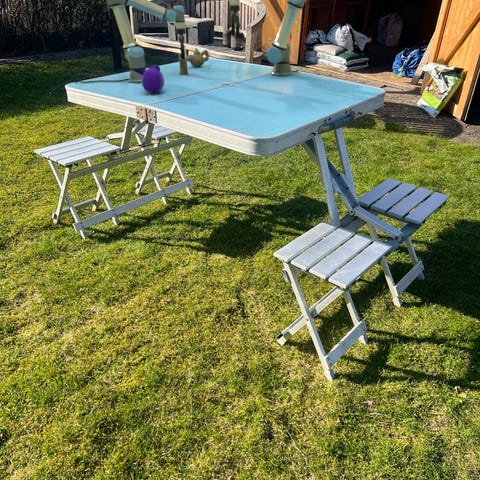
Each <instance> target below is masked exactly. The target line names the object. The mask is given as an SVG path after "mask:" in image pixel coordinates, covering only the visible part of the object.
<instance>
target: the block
mask: <svg viewBox="0 0 480 480" xmlns="http://www.w3.org/2000/svg"><path fill="white" fill-rule="evenodd" d="M178 60H179V72H180V75H181V76H183V75H189V73H188V71H189V70H188V61H187V58H186V57H185V59H182V58H181V57H179V59H178Z"/></svg>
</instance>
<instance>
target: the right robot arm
mask: <svg viewBox="0 0 480 480" xmlns="http://www.w3.org/2000/svg"><path fill="white" fill-rule="evenodd" d="M308 1H309V0H287V1H286V5H287V7H286V11H285V13H284V15H283V18H282V21H281V24H280V26H279V29H278V32H277V34H276V38H275V40H273V41H272V42H271V45H270V47H269V48H268V49H267V51H266V59H267V61H268V62H269V63H270V64H273V68H272V71H271V75H272V76H276V77H288V76H291V75H292V72H293V73H297V72H300V70H299V69H297V70H293V69H292V68H291V65H290V64H291V63H290V62H291V61H290V59H291V43H289V42H288V41H289V38H290V36H291V34H292V31H293V28H294V25H295V23H296V20H297V17H298V16H299V13H300V11H301V10H303V8H304V5H305V4H306V2H308ZM228 2H229V12H230V22H229V23H230V33H231V37H235V38H236V39H237V38H239V39H240V36H241V35H240V28H241V21H240V13H239V12H240V11H241V5H240V4H241V0H228Z"/></svg>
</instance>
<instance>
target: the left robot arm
mask: <svg viewBox="0 0 480 480" xmlns="http://www.w3.org/2000/svg"><path fill="white" fill-rule="evenodd" d="M107 2H108V6H109V8H110V9H112V11H113V14H114V17H115V20H116V24H117V27H118V29H119V30H118V31H119V33H120V35H121V40H122V42H123V46H122V49H123V52H124V57H125V59H126V61H127V62H128V66H129V76H128V78H124V79H118V80H117V79H116V80H115V79H114V80H107V79H105V80H104V79H99V80H97V79H96V80H88V81H86V80H85V81H82V80H76V81H75V82H74V84H77V83H82V84H88V83H99V82H100V83H101V82H103V83H105V82H106V83H115V82H116V83H118V82H119V83H120V82H125V81H126V82H127V81H128V82H129V83H133V84H142V76H143V75H141V74H139V73H137V72H135V71H134V70H147V67H146V59H145V50H144V48H143V47H141V46H139V43H138V42H137V41H136V39H135V36H134V33H133V30H132V27H131V23H130V20H129V16H128V13H127V10H126V6H130V7H132V8H135V9H137V10H140V11H141V12H144V13H146V14H147V13H148V14H149V15H152V16H154V17H156V18H158V19H159V21H160V22H169V23H174V26H175V34H176V35H179V36H178V41H179V44H180V48H179V51H180V58H182V59H185V58H186V51H185V48H186V45H185V36H184V35H186V34H187V29H186V20H185V19H186V17H185V9H184V8H185V7H184V6H183V5H174V6H173V8H170V9H169V8H166V7H164V6H162V5H159V4H157V3H155V2H153V1H150V0H107Z"/></svg>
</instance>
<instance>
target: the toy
mask: <svg viewBox="0 0 480 480" xmlns="http://www.w3.org/2000/svg"><path fill="white" fill-rule="evenodd" d="M134 71H135V72H137V73H139V74H141V75H143V76H142V83H141V85H142V87H143V89H144V90H145V91H146V92H147V93H151V94H157V93H159V92H160V91H161V90H162V89H163V87H164V86H165V78H164V75H163V72H161V67H160V66H159V65H158V64H153V65H151V66H149V67H148V68H146V70H134Z"/></svg>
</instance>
